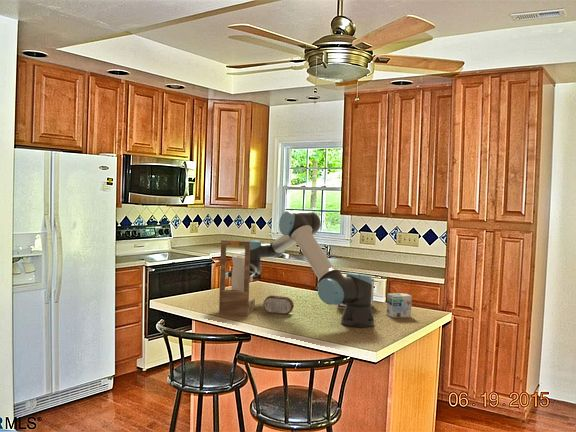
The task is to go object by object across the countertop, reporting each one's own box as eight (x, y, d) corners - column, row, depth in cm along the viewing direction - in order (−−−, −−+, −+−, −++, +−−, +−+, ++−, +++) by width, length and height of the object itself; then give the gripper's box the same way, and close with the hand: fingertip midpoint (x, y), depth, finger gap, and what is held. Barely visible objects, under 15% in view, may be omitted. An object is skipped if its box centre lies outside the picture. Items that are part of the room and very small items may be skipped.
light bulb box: (391, 317, 269) (392, 296, 268) (385, 314, 275) (386, 293, 275) (411, 317, 272) (412, 295, 271) (405, 314, 278) (406, 293, 278)
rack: (246, 316, 262) (249, 241, 260) (218, 313, 265) (220, 239, 263) (254, 309, 276) (256, 238, 275) (227, 307, 279) (229, 237, 277)
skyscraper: (248, 309, 269) (250, 252, 268) (232, 310, 266) (234, 252, 265) (243, 306, 277) (245, 250, 276) (228, 306, 274) (229, 250, 273)
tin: (293, 314, 270) (294, 297, 269) (291, 315, 267) (292, 298, 266) (264, 311, 274) (264, 294, 273) (262, 312, 271) (262, 295, 270)
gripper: (271, 280, 287) (261, 287, 266) (225, 277, 291) (212, 284, 271) (271, 266, 286) (262, 271, 265) (225, 263, 291) (212, 268, 270)
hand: (236, 278), depth 268 cm, fingers open, 13 cm apart
